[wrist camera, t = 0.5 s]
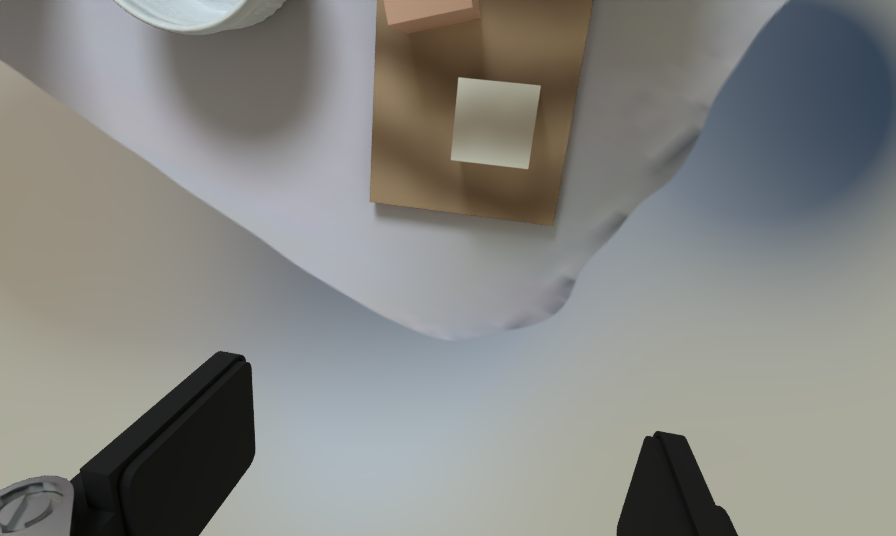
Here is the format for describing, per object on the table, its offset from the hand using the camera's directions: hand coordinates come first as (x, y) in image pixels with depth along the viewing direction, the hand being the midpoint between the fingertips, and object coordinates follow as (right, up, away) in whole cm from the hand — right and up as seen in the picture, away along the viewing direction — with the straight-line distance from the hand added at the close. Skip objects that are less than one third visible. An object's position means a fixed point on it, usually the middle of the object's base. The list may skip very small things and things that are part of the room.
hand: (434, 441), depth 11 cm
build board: (+2, +18, +23) cm, 29 cm away
